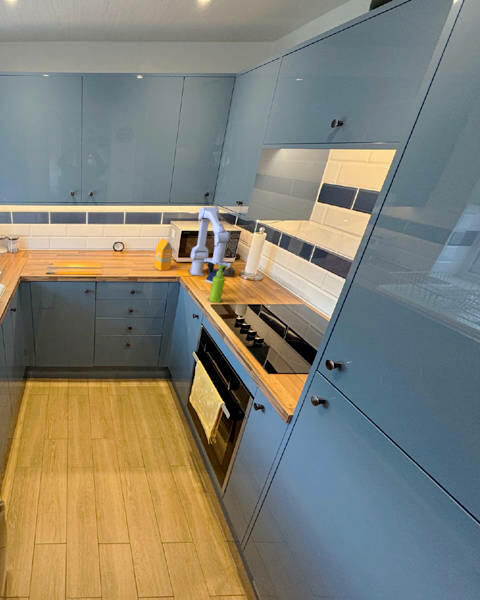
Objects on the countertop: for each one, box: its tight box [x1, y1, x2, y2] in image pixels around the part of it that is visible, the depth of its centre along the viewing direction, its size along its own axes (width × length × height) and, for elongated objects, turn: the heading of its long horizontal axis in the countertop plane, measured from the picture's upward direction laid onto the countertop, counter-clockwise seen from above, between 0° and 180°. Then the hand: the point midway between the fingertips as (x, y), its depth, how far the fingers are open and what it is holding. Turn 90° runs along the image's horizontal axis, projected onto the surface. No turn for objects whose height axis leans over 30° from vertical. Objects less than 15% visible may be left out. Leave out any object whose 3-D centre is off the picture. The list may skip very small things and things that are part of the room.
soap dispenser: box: [208, 265, 229, 304], centre depth 174 cm, size 6×7×20 cm
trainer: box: [204, 270, 217, 285], centre depth 186 cm, size 11×5×4 cm, turn 135°
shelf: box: [205, 265, 236, 278], centre depth 214 cm, size 11×15×4 cm
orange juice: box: [153, 238, 174, 272], centre depth 221 cm, size 8×9×20 cm
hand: (214, 276), depth 187 cm, fingers closed on trainer, 4 cm apart
